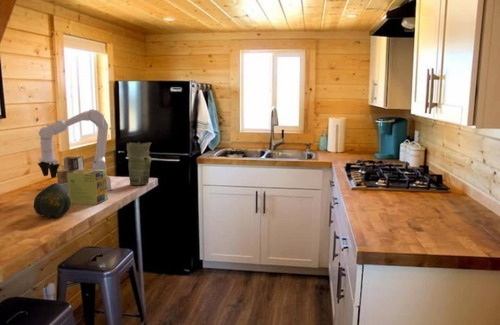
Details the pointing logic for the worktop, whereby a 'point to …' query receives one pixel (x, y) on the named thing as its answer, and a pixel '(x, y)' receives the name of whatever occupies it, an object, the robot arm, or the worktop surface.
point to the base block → (64, 186)
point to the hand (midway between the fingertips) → (49, 176)
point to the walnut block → (62, 176)
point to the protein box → (87, 186)
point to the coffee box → (73, 163)
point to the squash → (52, 201)
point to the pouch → (139, 163)
